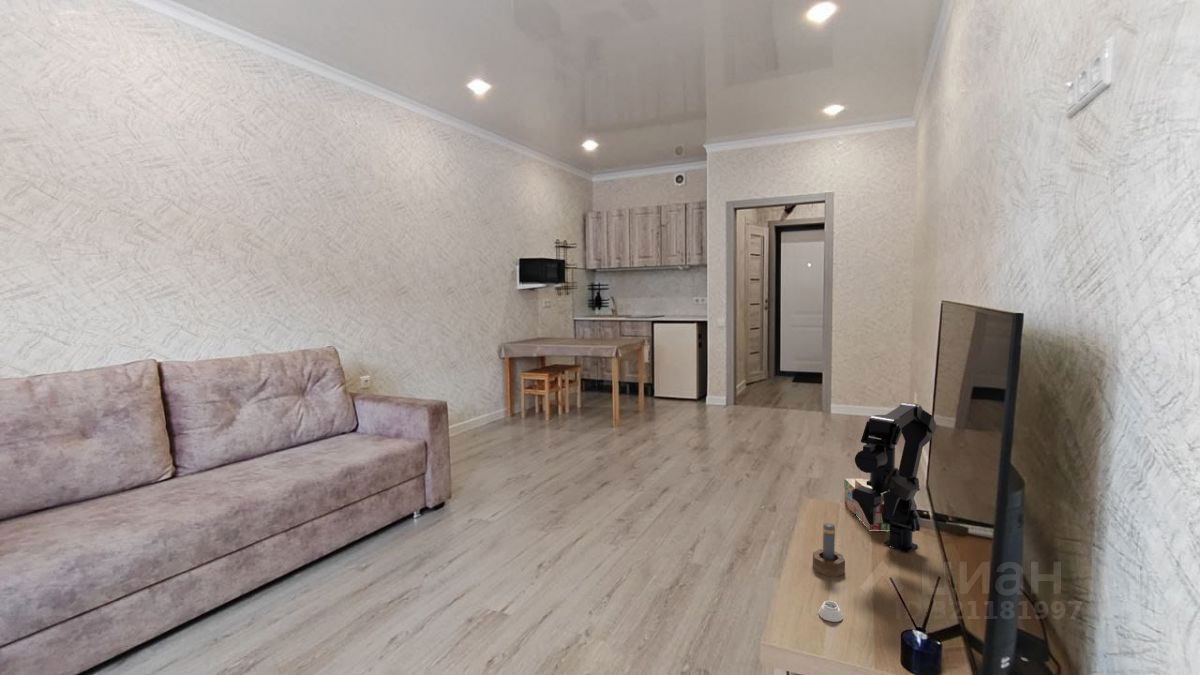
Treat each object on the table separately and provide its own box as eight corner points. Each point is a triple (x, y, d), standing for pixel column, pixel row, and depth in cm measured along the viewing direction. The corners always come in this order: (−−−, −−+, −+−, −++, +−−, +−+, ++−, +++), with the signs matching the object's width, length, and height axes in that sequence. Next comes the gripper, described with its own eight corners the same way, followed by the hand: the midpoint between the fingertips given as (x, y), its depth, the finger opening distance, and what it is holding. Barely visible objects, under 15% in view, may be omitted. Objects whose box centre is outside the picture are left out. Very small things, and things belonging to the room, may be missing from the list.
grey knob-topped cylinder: (830, 565, 145) (831, 522, 144) (836, 571, 142) (837, 527, 141) (820, 566, 144) (820, 523, 143) (825, 572, 141) (826, 528, 140)
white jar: (835, 609, 125) (814, 611, 125) (835, 597, 125) (814, 598, 125) (846, 622, 120) (825, 624, 120) (847, 610, 120) (825, 611, 120)
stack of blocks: (843, 504, 185) (844, 469, 184) (862, 504, 185) (863, 469, 183) (869, 532, 164) (870, 493, 163) (891, 532, 163) (892, 493, 162)
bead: (824, 559, 148) (824, 547, 148) (849, 570, 142) (849, 558, 142) (807, 567, 144) (807, 554, 144) (832, 579, 138) (832, 566, 138)
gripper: (893, 479, 131) (891, 541, 133) (932, 464, 141) (930, 522, 143) (850, 467, 141) (849, 525, 142) (890, 454, 151) (889, 508, 152)
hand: (881, 520), depth 144 cm, fingers open, 9 cm apart
